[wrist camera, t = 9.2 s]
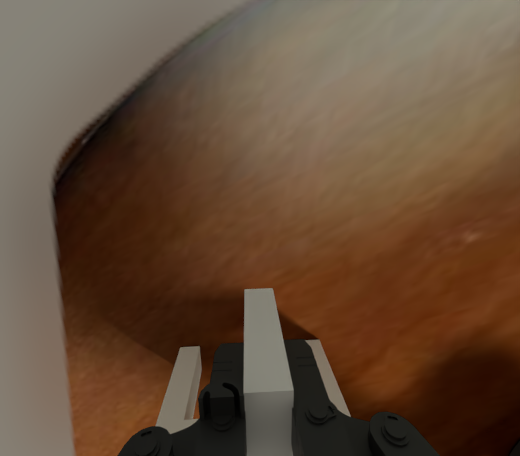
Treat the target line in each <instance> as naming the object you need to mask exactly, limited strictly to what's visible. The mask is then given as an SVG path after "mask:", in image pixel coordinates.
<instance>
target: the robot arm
mask: <svg viewBox="0 0 520 456" xmlns="http://www.w3.org/2000/svg"><path fill="white" fill-rule="evenodd" d="M198 402H199V413H200V418H199V419H198V420H197V421H196V422H195V423H194V424H192V425H191V426H189V427H187V428H185V429H183V430H180V431H178V432H175V433H172V434H170V433H169V432H168V430H167V429H165V428H162V427H160V426H152V427H148V428H145V429H143V430H141V431H139V432H138V433H136V434H135V435H133V436H132V437H131V438H130V439H129V441H128V442H127V443H126V444H125V445H124V447H123V448H122V450H121V451H120V453H119V454H118V456H292V451H293V456H440V455H439V454H438V453H437V452H436V451H435V450H434V449H433V447H432V446H431V445H430V444H429V443H428V442H427V441H426V440H425V438H424V437H423V436H422V435H421V434H420V433H419V432H418V430H417V429H416V428H415V427H414V426H413V425H412V424H411V423H409V422H408V421H407V420H406V419H405V418H403V417H401V416H399V415H397V414H394V413H390V412H378V413H377V414H375V415H374V416H372V418H371V420H370V422H368V421H364V420H360V419H356V418H353V417H350V416H347V415H345V414H343V413H342V412H340V411H339V410H338V409H337V407H336V406H335V405H334V404H333V403H332V402H331V401H330V399H329V397H328V394H327V391H326V389H325V386H324V383H323V380H322V377H321V374H320V371H319V368H318V366H317V363H316V360H315V358H314V354H313V351H312V348H311V346H310V345H309V344H308V343H307V342H306V341H305V340H304V339H295V340H283V336H282V331H281V326H280V321H279V316H278V312H277V307H276V302H275V297H274V292H273V288H267V289H245V293H244V343H225V344H221V345H220V346H219V347H218V349H217V350H216V352H215V355H214V361H213V367H212V374H211V380H210V384H208V385H207V386H206V387H205V388H204V389H203V390H202V391H201V393H200V395H199V398H198ZM510 456H520V441H519V443H518V444H517V445H516V446H515V448H514V449H513V450H512V452H511V454H510Z"/></svg>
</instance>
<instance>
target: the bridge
mask: <svg viewBox="0 0 520 456" xmlns="http://www.w3.org/2000/svg"><path fill="white" fill-rule="evenodd" d="M305 341H306V342H307V343H308V344H309V345H310V346H311V348H312V351H313V354H314V358H315V360H316V363H317V366H318V368H319V371H320V374H321V377H322V380H323V383H324V386H325V389H326V391H327V394H328V397H329V399H330V401H331V402H332V403H333V404H334V405H335V406H336V407H337V409H338V410H339V411H340V412H342V413H343V414H345V415H347V416H350V417H351V415H350V413H349V411H348V408H347V406H346V403H345V401H344V398H343V396H342V394H341V391H340V389H339V386H338V384H337V382H336V379H335V377H334V374H333V372H332V370H331V367H330V365H329V362H328V360H327V358H326V355H325V353H324V350H323V348H322V345H321V343H320V341H319V340H305ZM201 372H202V366H201V354H200V346H193V347H180V350H179V353H178V356H177V359H176V362H175V366H174V369H173V372H172V375H171V378H170V382H169V385H168V388H167V391H166V394H165V397H164V401H163V404H162V407H161V410H160V413H159V417H158V420H157V423H156V426H160V427H162V428H165V429H167V430H168V432H169V433H170V434H172V433H175V432H178V431H180V430H183V429H185V428H187V427H189V426H191V425H192V424H194V423H195V422H196V421H197V420H198V419H193V416H194V410H195V405H196V399H197V394H198V388H199V383H200V377H201ZM292 456H293V451H292Z"/></svg>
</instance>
